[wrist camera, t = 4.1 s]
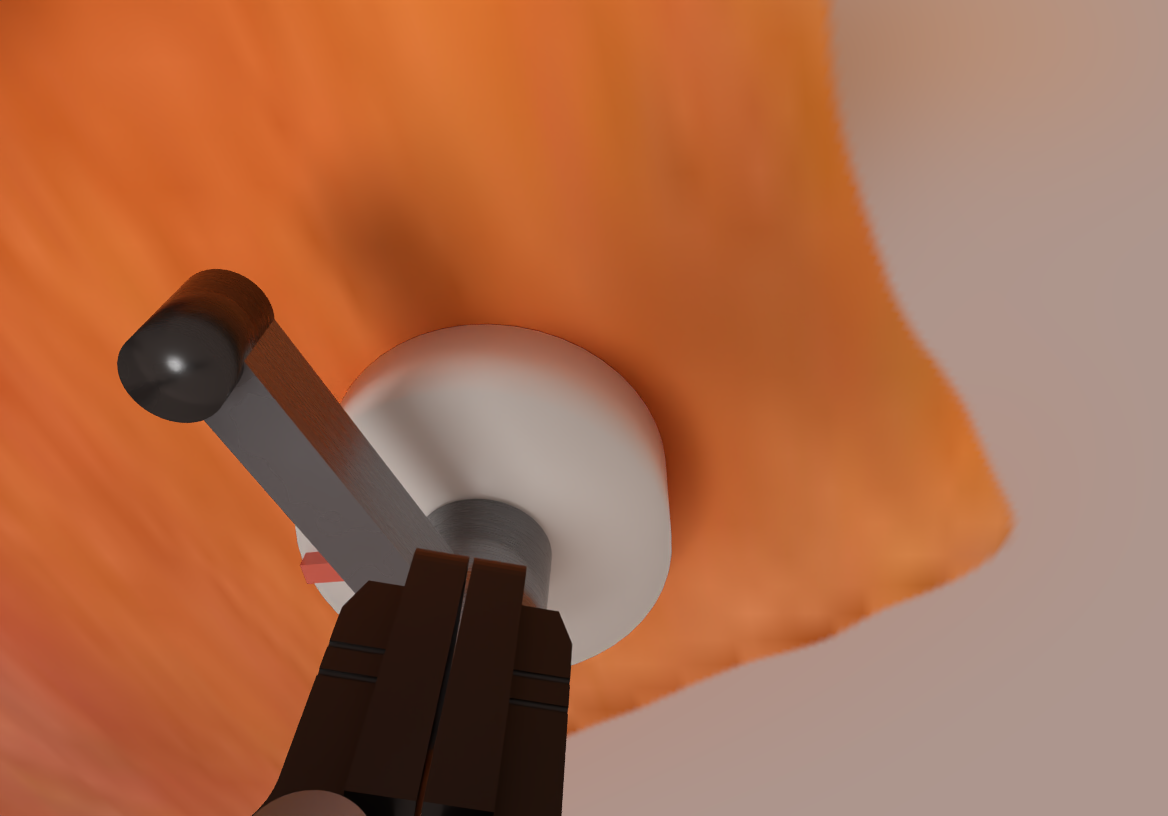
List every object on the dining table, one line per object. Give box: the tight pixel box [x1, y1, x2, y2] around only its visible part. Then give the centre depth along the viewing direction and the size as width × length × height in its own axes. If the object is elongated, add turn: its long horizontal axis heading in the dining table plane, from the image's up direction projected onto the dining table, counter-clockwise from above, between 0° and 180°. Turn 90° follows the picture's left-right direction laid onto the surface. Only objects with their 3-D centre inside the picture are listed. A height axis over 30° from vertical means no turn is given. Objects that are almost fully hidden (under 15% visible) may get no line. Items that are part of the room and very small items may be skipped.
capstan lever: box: [117, 269, 552, 647], centre depth 23 cm, size 14×4×6 cm, turn 27°
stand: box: [295, 324, 672, 665], centre depth 30 cm, size 12×12×5 cm
